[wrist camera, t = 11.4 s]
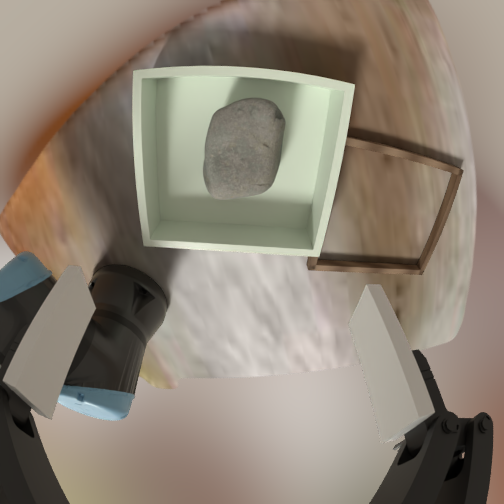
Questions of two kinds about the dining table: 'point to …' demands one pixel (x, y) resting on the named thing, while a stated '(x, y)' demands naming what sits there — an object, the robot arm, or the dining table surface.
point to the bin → (192, 158)
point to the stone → (243, 148)
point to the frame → (448, 200)
